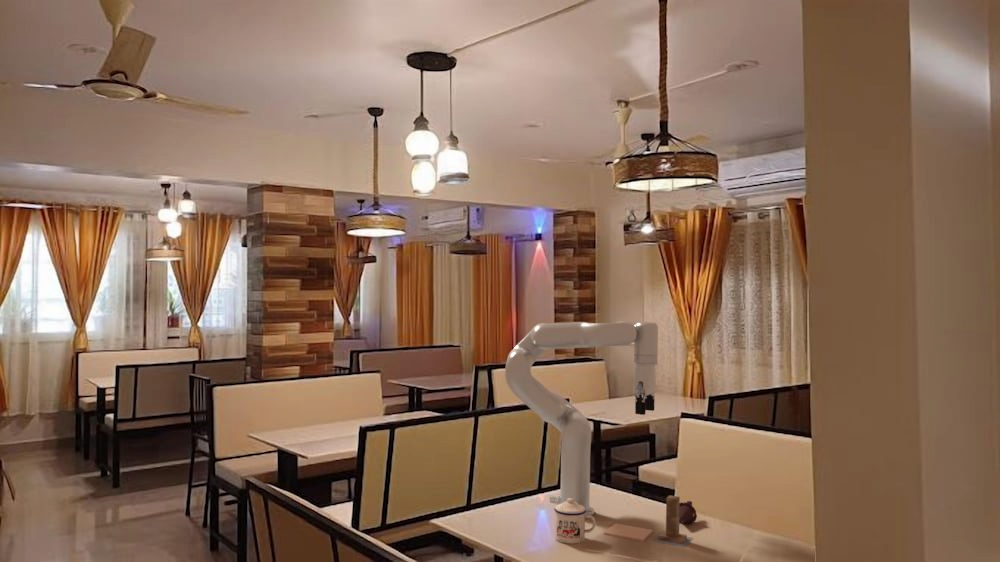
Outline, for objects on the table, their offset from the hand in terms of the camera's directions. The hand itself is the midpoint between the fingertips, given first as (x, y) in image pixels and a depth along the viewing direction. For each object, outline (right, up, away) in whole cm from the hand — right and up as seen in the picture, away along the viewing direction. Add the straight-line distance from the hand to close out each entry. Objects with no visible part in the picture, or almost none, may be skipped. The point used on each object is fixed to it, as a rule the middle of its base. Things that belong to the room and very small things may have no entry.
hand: (644, 412), depth 234 cm
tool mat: (+3, -33, -25) cm, 42 cm away
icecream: (+11, -34, -9) cm, 37 cm away
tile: (-9, -33, -20) cm, 39 cm away
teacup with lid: (-26, -33, -26) cm, 49 cm away
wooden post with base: (+3, -33, -25) cm, 41 cm away
